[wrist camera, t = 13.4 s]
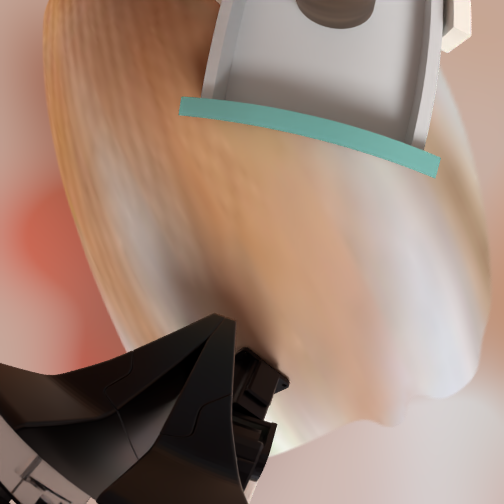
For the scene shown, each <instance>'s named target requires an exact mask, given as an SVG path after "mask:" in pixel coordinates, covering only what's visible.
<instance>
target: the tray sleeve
mask: <svg viewBox="0 0 504 504" xmlns="http://www.w3.org/2000/svg"><path fill="white" fill-rule="evenodd" d="M215 1H217V2H218V3H219V4H220V5H221V2H222V0H215ZM469 37H471V0H443V30H442V44H441V50H442V51H445V52H447V53H448V52H450V51H451V50H453V49H454V48H455V47H457V46H458V45H460V44H461V43H462V42H464V41H465V40H466V39H468V38H469Z"/></svg>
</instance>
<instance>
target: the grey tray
mask: <svg viewBox="0 0 504 504" xmlns="http://www.w3.org/2000/svg"><path fill="white" fill-rule="evenodd" d="M442 30H443V0H376V1H375V6H374V10H373V13H372V15H371V16H370V18H369V19H368V20H367V21H366V22H364V23H363V24H361V25H359V26H356V27H353V28H348V29H334V28H328V27H324V26H321V25H319V24H317V23H315V22H313V21H311V20H310V19H308V18H307V17H306V16H305V15H304V14H303V13H302V12H301V10H300V9H299V7H298V5H297V2H296V0H222V2H221V5H220V9H219V13H218V17H217V21H216V26H215V30H214V34H213V39H212V43H211V48H210V52H209V57H208V62H207V67H206V72H205V77H204V82H203V88H202V93H201V98H195V97H181V103H180V109H179V115H182V116H192V117H201V118H209V119H216V120H223V121H230V122H237V123H243V124H248V125H254V126H260V127H265V128H270V129H275V130H280V131H284V132H289V133H293V134H298V135H302V136H306V137H310V138H314V139H318V140H322V141H326V142H330V143H333V144H337V145H341V146H344V147H347V148H351V149H354V150H358V151H361V152H364V153H367V154H370V155H373V156H376V157H379V158H382V159H385V160H388V161H391V162H394V163H397V164H399V165H402V166H405V167H408V168H410V169H413V170H416V171H418V172H421V173H423V174H426V175H428V176H431V177H433V178H435V177H436V174H437V170H438V167H439V163H440V159H441V158H440V157H437V156H435V155H433V154H430V153H428V152H425V151H424V147H425V143H426V139H427V134H428V130H429V125H430V120H431V115H432V110H433V105H434V99H435V93H436V87H437V80H438V73H439V65H440V55H441V44H442Z"/></svg>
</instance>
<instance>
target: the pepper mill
mask: <svg viewBox="0 0 504 504" xmlns="http://www.w3.org/2000/svg"><path fill="white" fill-rule="evenodd" d="M375 1H376V0H296V2H297V5H298V7H299V9H300V10H301V12H302V13H303V14H304V15H305V16H306V17H307V18H308V19H310V20H311V21H313V22H315V23H317V24H319V25H321V26H324V27H328V28H334V29H348V28H353V27H356V26H359V25H361V24H363V23H364V22H366V21H367V20H368V19H369V18H370V16H371V15H372V13H373V10H374V6H375Z"/></svg>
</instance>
